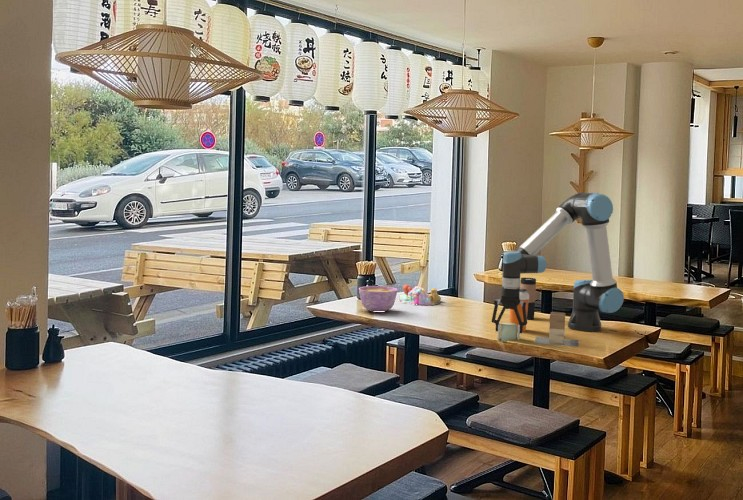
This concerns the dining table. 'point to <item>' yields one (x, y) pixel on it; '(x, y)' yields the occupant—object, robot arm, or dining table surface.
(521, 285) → the travel mug
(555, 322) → the block top
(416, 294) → the colourful toy figurine cluster
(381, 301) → the bowl of food
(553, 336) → the block bottom
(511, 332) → the pale green cube
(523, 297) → the shaker bottle
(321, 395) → the dining table surface
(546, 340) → the slate board
